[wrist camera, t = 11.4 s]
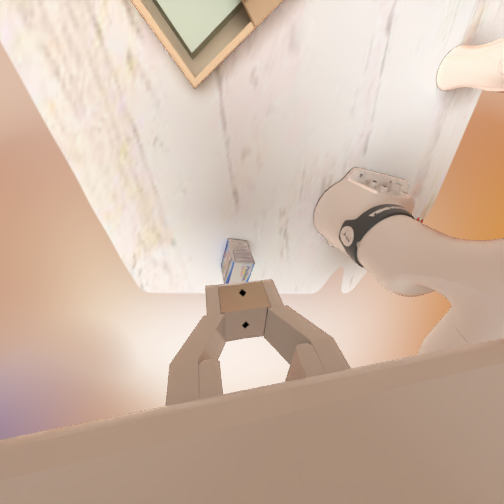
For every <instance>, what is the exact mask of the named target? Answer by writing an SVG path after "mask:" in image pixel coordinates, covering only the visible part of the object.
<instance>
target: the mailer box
mask: <svg viewBox="0 0 504 504" xmlns="http://www.w3.org/2000/svg"><path fill="white" fill-rule="evenodd" d="M282 1H283V0H281V1H280V2H279V3H278V4H277V5H276V6H275V7H274V8H273V9H272V10H271V11H270V12H269V13H268V14H267V15H266V16H265V17H264V18H263V19H262V20H261V21H260V22H259V23H258V24H257V25H256V26H255V27H254V25H253V23H252V21H251V19H250V17H249V15H248V13H247V11H246V9H245V7H244V5H243V3H242V1H241V0H131V2H132V3H133V4H134V6H135V7H136V9H137V10H138V11H139V13H140V14H141V15H142V17H143V18H144V20H145V21H146V22H147V24H148V25H149V27H150V28H151V29H152V31H153V32H154V33H155V35H156V36H157V38H158V39H159V40H160V42H161V43H162V44H163V46H164V47H165V49H166V50H167V51H168V53H169V54H170V56H171V57H172V58H173V60H174V61H175V62H176V64H177V65H178V67H179V68H180V69H181V71H182V72H183V73H184V75H185V76H186V78H187V79H188V80H189V82H190V83H191V85H192V86H193V87H194V89H195V88H196V87H197V86H198V85H199V84H200V83H201V82H202V81H203V80H204V79H205V78H206V77H207V76H208V75H209V74H210V73H211V72H212V71H213V70H214V69H215V68H216V67H217V66H218V65H219V64H220V63H221V62H222V61H223V60H224V59H225V58H226V57H227V56H228V55H229V54H230V53H231V52H232V51H233V50H234V49H235V48H236V47H237V46H238V45H239V44H240V43H241V42H242V41H243V40H244V39H245V38H246V37H247V36H248V35H249V34H250V33H251V32H252V31H253V30H254V29H255V28H256V27H257V26H258V25H259V24H260V23H261V22H262V21H263V20H264V19H265V18H266V17H267V16H268V15H269V14H270V13H271V12H272V11H273V10H274V9H275V8H276V7H277V6H278V5H279V4H280V3H281V2H282Z"/></svg>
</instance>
